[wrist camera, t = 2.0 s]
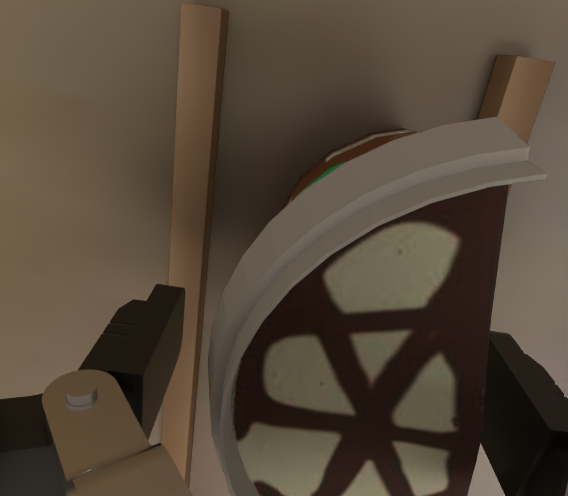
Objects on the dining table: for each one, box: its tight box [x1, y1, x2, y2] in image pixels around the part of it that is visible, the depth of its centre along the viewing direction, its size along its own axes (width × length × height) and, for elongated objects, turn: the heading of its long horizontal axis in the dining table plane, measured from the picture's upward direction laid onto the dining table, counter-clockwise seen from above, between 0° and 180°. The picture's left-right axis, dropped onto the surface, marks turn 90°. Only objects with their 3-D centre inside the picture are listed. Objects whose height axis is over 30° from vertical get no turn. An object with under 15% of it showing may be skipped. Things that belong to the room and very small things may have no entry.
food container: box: [208, 117, 548, 496], centre depth 14 cm, size 12×6×10 cm, turn 4°
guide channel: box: [161, 2, 556, 488], centre depth 20 cm, size 11×32×4 cm, turn 172°
